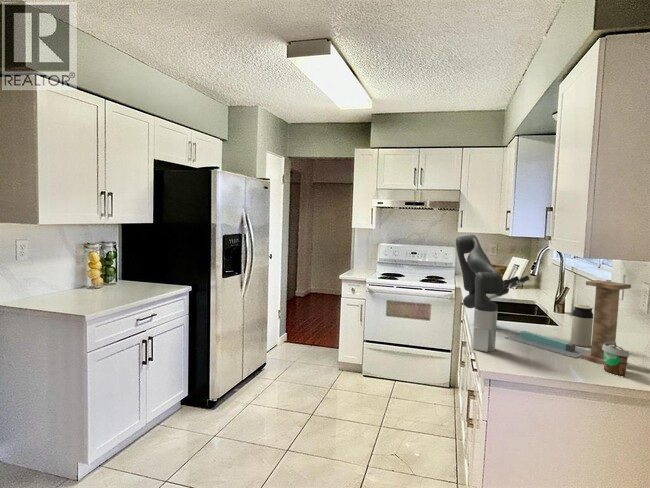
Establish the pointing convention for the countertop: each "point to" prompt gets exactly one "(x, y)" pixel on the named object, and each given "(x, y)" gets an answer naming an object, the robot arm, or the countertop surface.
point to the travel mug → (582, 325)
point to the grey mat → (549, 347)
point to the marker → (548, 341)
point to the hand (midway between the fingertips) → (523, 277)
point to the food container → (615, 359)
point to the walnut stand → (604, 317)
